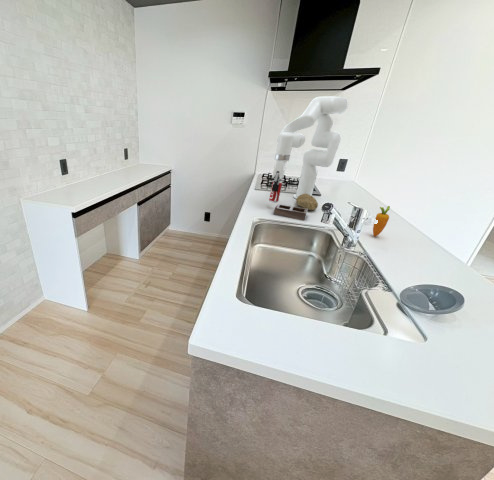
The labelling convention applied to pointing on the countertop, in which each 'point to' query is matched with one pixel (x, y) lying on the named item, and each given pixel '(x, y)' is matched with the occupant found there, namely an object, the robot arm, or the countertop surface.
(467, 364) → the countertop surface
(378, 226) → the carrot
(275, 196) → the soda can
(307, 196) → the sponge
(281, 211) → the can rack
